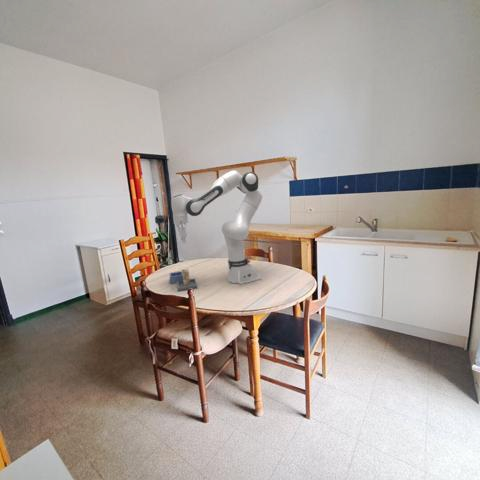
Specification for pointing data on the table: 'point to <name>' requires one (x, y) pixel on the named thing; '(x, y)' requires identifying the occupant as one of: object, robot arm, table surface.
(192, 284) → the tray
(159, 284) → the table surface
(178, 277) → the blue socket block
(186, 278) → the peg
